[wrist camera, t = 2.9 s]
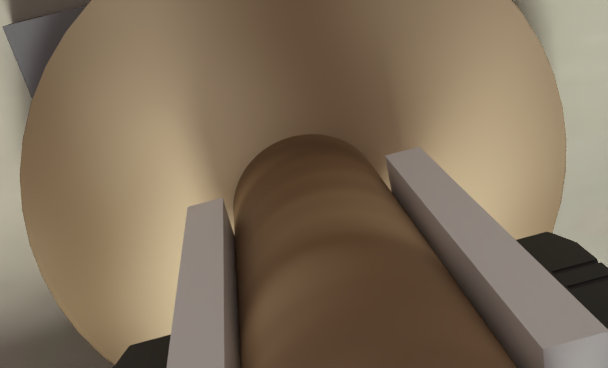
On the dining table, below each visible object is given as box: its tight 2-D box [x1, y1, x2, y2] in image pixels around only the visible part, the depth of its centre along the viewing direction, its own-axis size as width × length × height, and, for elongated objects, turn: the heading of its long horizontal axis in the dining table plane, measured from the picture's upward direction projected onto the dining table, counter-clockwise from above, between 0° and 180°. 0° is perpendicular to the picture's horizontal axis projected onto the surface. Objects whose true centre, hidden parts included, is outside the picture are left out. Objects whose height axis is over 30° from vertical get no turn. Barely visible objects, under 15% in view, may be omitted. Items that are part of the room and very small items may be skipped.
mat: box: [3, 5, 87, 99], centre depth 15 cm, size 11×11×1 cm
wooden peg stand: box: [20, 0, 566, 368], centre depth 9 cm, size 13×13×12 cm
